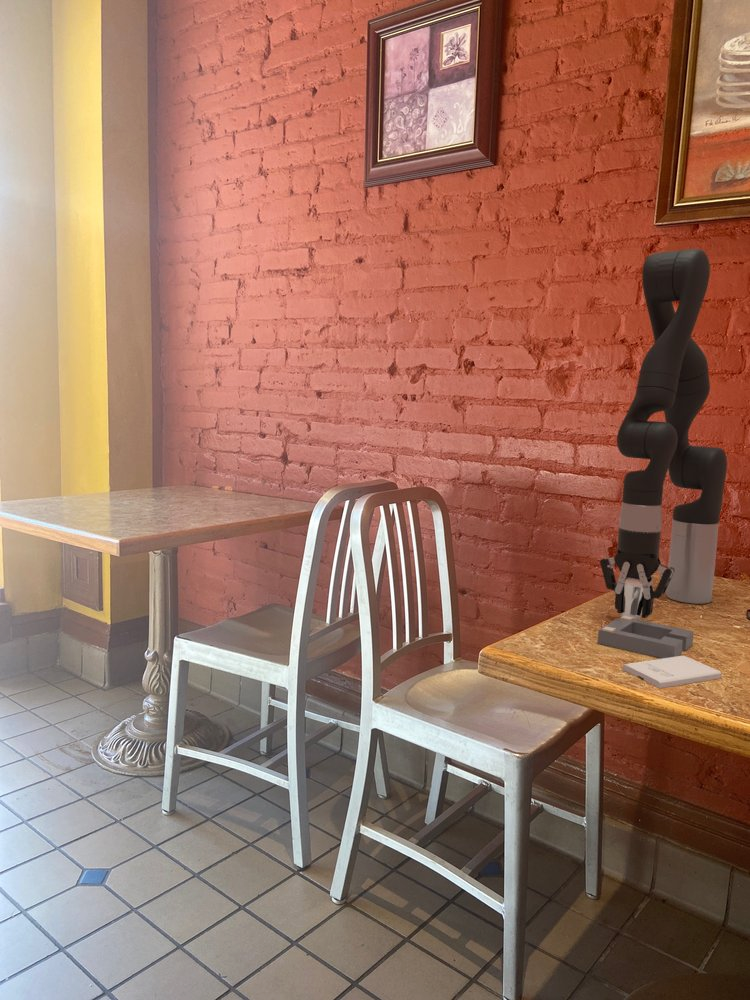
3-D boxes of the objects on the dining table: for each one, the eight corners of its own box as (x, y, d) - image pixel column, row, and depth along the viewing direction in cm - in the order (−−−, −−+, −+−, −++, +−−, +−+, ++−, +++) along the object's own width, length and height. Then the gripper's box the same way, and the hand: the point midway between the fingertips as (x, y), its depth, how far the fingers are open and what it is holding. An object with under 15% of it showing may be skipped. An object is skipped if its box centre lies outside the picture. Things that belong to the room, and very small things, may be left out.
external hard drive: (721, 681, 117) (659, 691, 112) (681, 663, 124) (621, 672, 119) (722, 671, 116) (660, 681, 112) (681, 654, 124) (622, 662, 119)
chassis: (619, 629, 140) (620, 614, 140) (692, 644, 132) (693, 629, 132) (597, 643, 132) (598, 628, 131) (673, 661, 124) (675, 644, 123)
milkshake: (649, 628, 141) (656, 577, 140) (619, 624, 142) (626, 574, 141) (645, 621, 146) (652, 571, 144) (616, 617, 147) (623, 568, 145)
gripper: (684, 529, 140) (676, 618, 143) (610, 520, 149) (604, 603, 151) (672, 534, 134) (664, 626, 137) (595, 524, 143) (589, 611, 145)
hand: (632, 614), depth 144 cm, fingers closed on milkshake, 4 cm apart
